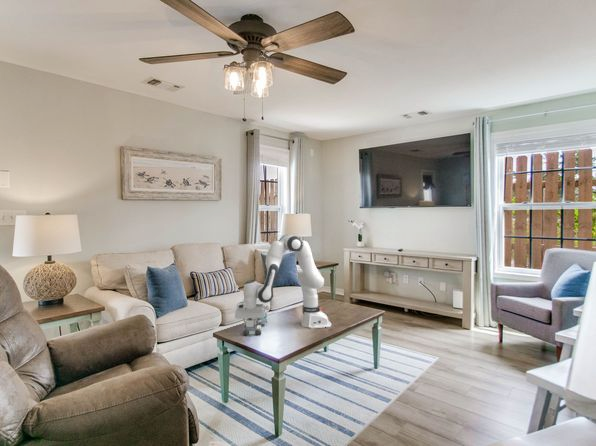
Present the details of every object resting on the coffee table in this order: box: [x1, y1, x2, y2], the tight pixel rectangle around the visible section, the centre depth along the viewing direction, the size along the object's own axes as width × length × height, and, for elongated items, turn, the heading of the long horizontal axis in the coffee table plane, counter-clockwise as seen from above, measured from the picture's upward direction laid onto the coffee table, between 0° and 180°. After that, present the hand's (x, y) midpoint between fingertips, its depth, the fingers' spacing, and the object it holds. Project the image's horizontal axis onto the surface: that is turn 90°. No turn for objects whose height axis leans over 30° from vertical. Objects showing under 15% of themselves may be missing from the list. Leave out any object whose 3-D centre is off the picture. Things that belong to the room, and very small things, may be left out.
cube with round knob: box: [245, 318, 255, 328], centre depth 230 cm, size 5×5×7 cm
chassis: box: [242, 324, 263, 337], centre depth 230 cm, size 12×11×4 cm
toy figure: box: [254, 305, 270, 327], centre depth 246 cm, size 17×10×15 cm, turn 168°
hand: (250, 324), depth 230 cm, fingers closed on cube with round knob, 5 cm apart
